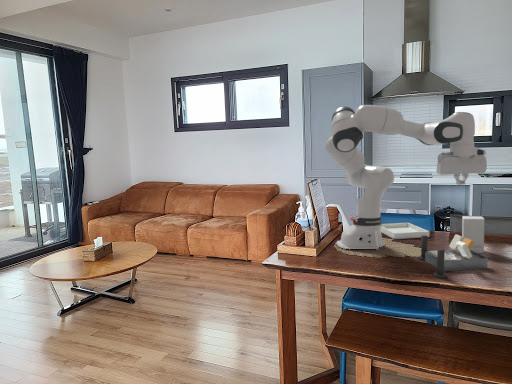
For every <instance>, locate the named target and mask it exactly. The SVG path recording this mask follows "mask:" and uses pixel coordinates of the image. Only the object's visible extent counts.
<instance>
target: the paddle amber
mask: <svg viewBox="0 0 512 384" xmlns="http://www.w3.org/2000/svg"><path fill="white" fill-rule="evenodd" d="M463 242H464V243H466V244H467V246H468V248H469V250H470V249H471V248H472V246H473V245H474V243H475V242H474V241H472V240H470V239H467V238H465V239H464V240H463ZM457 250H458V251H459V249H457ZM459 252H460V251H459Z"/></svg>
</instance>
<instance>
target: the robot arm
mask: <svg viewBox="0 0 512 384" xmlns="http://www.w3.org/2000/svg"><path fill="white" fill-rule="evenodd" d="M403 116H404V115H403V114H402V113H401V111H400V110H397V109H394V108H391V107H388V106H384V105H383V106H382V105H375V104H362V105H360V106H359V107H357V109H356V111H354V109H353V108H351V107H349V106H341V107H338V108H337V109H336V110H335V111H334V112H333V114H332V116H331V136H330V137H329V138H328V139H327V141H326V142H325V149H326V150H325V151H327V154H328V155H329V157H330V158H331V159H332V161H334V163H336V164H337V165H338V166H339V167H340V168H341V169H342V170H343V171H344V172H345V176H344V177H345V181H346V183H347V184H348V185H350V186H352V187H355V188H363V189H364V193H363V195H362V196H361V197H359V198H358V199H357V200H356V215H355V216H352V215H351V216H350V217H349V220H351V222H352V224H351V225H350V226H348V227H347V228H346V229H344V230H343V231H342V233H341V236H340V240H337V241H336V245H337V247H339V248H340V249H342V248H343V250H346V249H349V250H350V249H376V250H379V249H380V248H383V246H384V242H383V241H384V240H383V237H382V236H383V235H382V232H381V224H383V223H382V220H383V219H382V216H381V208H382V199H383V196H384V194H385V192H386V191H387V190H388V189H389V188H391V186H392V185H393V183H394V182H395V174H394V172H393V170H392V169H391V168H389V167H385V166H382V165H368V164H365V161H366V159H365V155H364V154H363V153H362V151H360V150H359V148H357V147H358V146H359V143H361V141H362V140H363V138H364V133H367V132H368V133H369V132H370V133H374V134H378V135H383V136H384V135H385V136H394V135H401V136H405V137H409V138H414V139H416V140H417V141H419V142H420V143H421V144H423V145H425V146H433V145H437V146H438V145H447V144H450V145H449V151H447V152H441V153H439V154H438V156H437V163H436V169H435V170H436V174H437V175H440V176H443V175H444V176H445V175H446V176H447V175H448V176H449V175H453V178H454V179H455V184H456V185H457V186H459V185H460V186H461V185H463V186H464V185H466V181H467V179H468V177H469V174H471V175H472V174H485V173H486V172H487V166H488V165H487V157H486V155H487V151H486V150H485V149H481V148H478V147H476V146H475V142H474V138H475V137H474V136H475V134H476V133H475V132H476V121H475V117H474V115H473V114H472V113H471V112H465V111H457V112H454V113H452V114H451V115H450V116H448V117H446V118H444V119H442V120H439V121H430V122H424V123H418V122H413V121H410V120H406V119H404V117H403ZM461 175H462V178H461V179H460V177H461ZM379 247H380V248H379ZM350 251H351V250H350Z"/></svg>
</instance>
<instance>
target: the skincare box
mask: <svg viewBox="0 0 512 384" xmlns="http://www.w3.org/2000/svg"><path fill="white" fill-rule="evenodd" d="M461 222H462V223H461V227H462V229H461V230H462V231H461V236H462V237H464V238H467V239H470V240H472V241H474V242H475V243H474V245H473V246H472V248H471V249H470V250H472V251H474V252H477V253H479V254H484V253H485V218H484V217H483V216H479V215H478V216H476V215H473V216H471V215H469V216H468V215H462V221H461Z"/></svg>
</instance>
